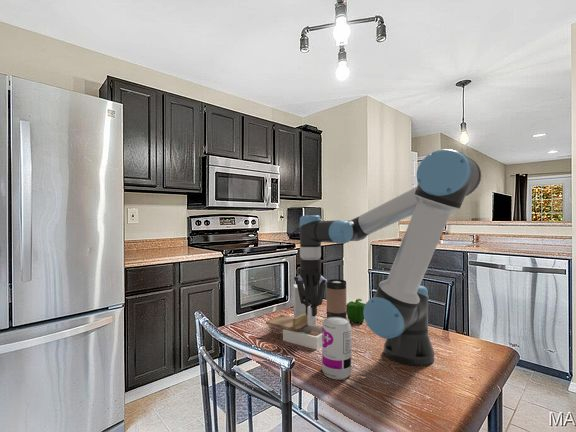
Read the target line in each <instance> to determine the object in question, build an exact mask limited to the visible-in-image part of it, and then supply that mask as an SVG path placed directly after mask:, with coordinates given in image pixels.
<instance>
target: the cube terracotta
mask: <svg viewBox="0 0 576 432" xmlns="http://www.w3.org/2000/svg"><path fill="white" fill-rule="evenodd" d="M319 334H320V331H314V330H312V331H311V332H310V335H312V336H318V335H319Z"/></svg>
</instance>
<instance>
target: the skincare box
mask: <svg viewBox="0 0 576 432" xmlns="http://www.w3.org/2000/svg"><path fill="white" fill-rule="evenodd" d="M292 285H293V286H292V287H293V288H292V290H293V292H292V294H293V318H295V317H297V316H299V315H302V314H304V313H306V306H305V305H304V304H301V302H300V297H299V292H298V287H297V283H296V284H295V283H293V284H292ZM303 285H304V283H303ZM304 290H305V287H304ZM307 321H308V315H307Z"/></svg>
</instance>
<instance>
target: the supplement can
mask: <svg viewBox="0 0 576 432" xmlns="http://www.w3.org/2000/svg"><path fill="white" fill-rule="evenodd" d="M350 323H351V322H350V321H349V319H348V318H346V319H345V318H341V317H329V318H327V317H326V318H324V321H323V323H322V325H321V327H322V347H321V350H322V351H321V357H322V358H321V360H322V362H321V363H322V364H321V369H322V373H323V374H324V376H325V377H327V378H329V379H332V380H345V379H347V378H348V377H349V376H351V374H352V325H351V324H350Z"/></svg>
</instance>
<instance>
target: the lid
mask: <svg viewBox="0 0 576 432" xmlns="http://www.w3.org/2000/svg"><path fill="white" fill-rule="evenodd" d="M265 324H266V325H270V326H273V327H276V328H277V327H278V328H281V329H289V330H293V331H297V332H298V331H300V330H301V329H303V328H305V327H307V326H308V321H307V315H306V313H304V314H302V315H299V316H297V317H295V318H294V316H288V315H283V314H281V315H278V316H277V317H273V318H272V319H269V320H267V321H265Z"/></svg>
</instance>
